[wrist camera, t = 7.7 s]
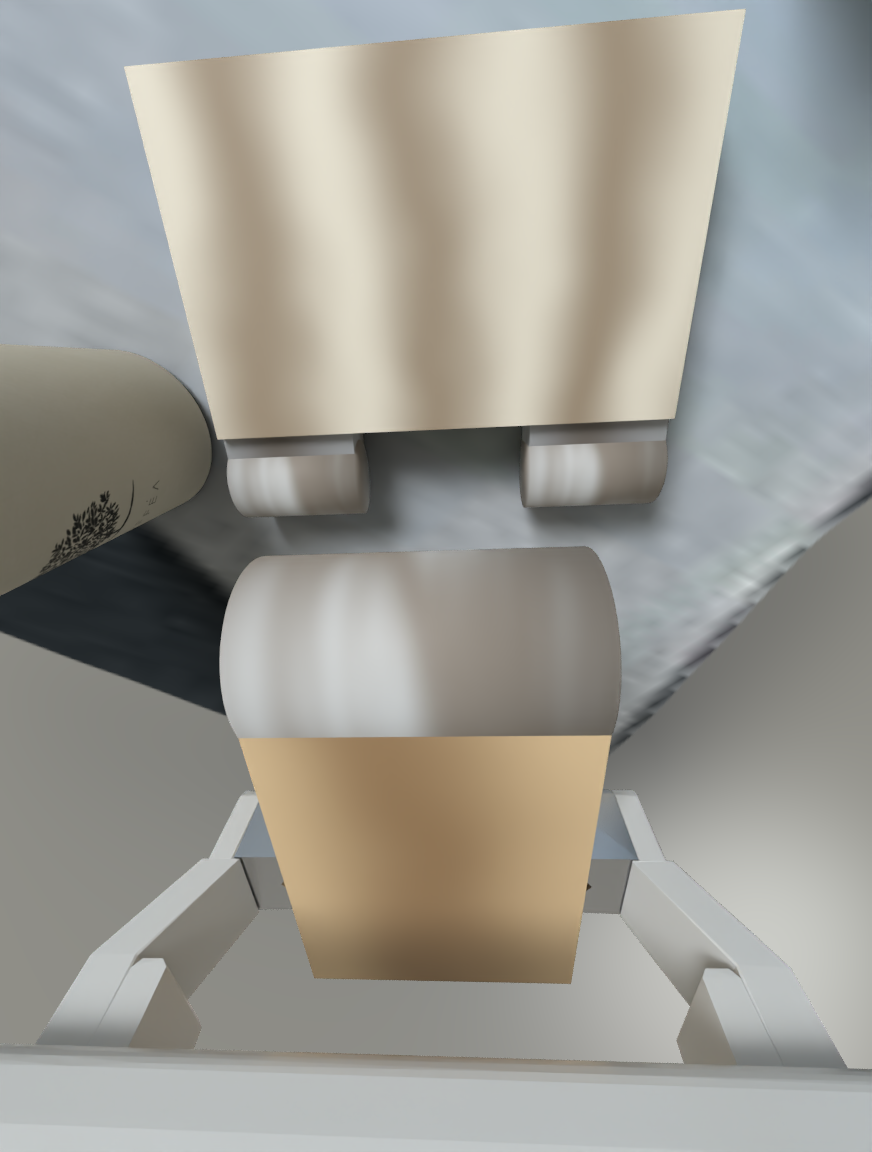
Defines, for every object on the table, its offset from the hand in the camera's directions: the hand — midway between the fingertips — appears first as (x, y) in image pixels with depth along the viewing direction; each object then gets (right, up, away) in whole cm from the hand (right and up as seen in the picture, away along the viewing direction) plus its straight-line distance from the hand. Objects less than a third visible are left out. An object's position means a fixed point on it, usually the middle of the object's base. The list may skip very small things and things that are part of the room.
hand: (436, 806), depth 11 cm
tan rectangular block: (0, +2, +1) cm, 2 cm away
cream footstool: (0, +17, +10) cm, 20 cm away
